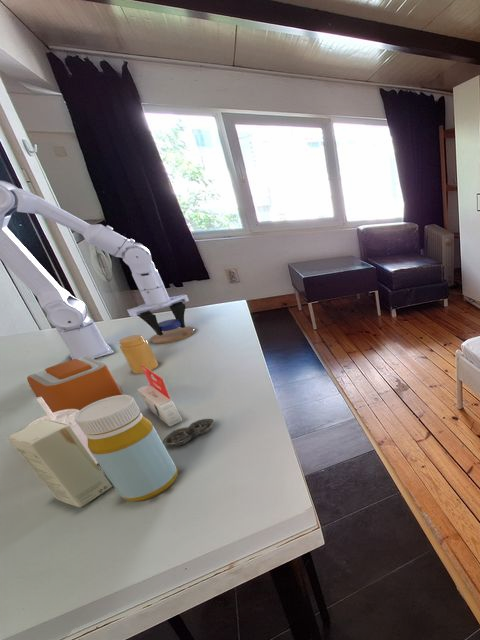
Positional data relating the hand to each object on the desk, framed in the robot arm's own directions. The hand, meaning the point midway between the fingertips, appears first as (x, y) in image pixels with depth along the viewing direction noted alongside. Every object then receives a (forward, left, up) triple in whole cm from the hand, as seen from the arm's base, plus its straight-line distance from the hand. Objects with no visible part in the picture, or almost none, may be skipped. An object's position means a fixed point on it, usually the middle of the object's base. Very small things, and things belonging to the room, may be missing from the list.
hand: (171, 330), depth 110 cm
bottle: (+69, -21, -2) cm, 72 cm away
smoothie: (+54, -27, -2) cm, 60 cm away
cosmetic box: (+62, -28, -2) cm, 68 cm away
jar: (+19, -11, -2) cm, 22 cm away
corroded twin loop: (+60, -13, -2) cm, 61 cm away
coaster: (0, 0, -2) cm, 2 cm away
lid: (0, 0, +2) cm, 2 cm away
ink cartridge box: (+48, -14, -2) cm, 50 cm away
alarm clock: (+40, -23, -2) cm, 46 cm away
